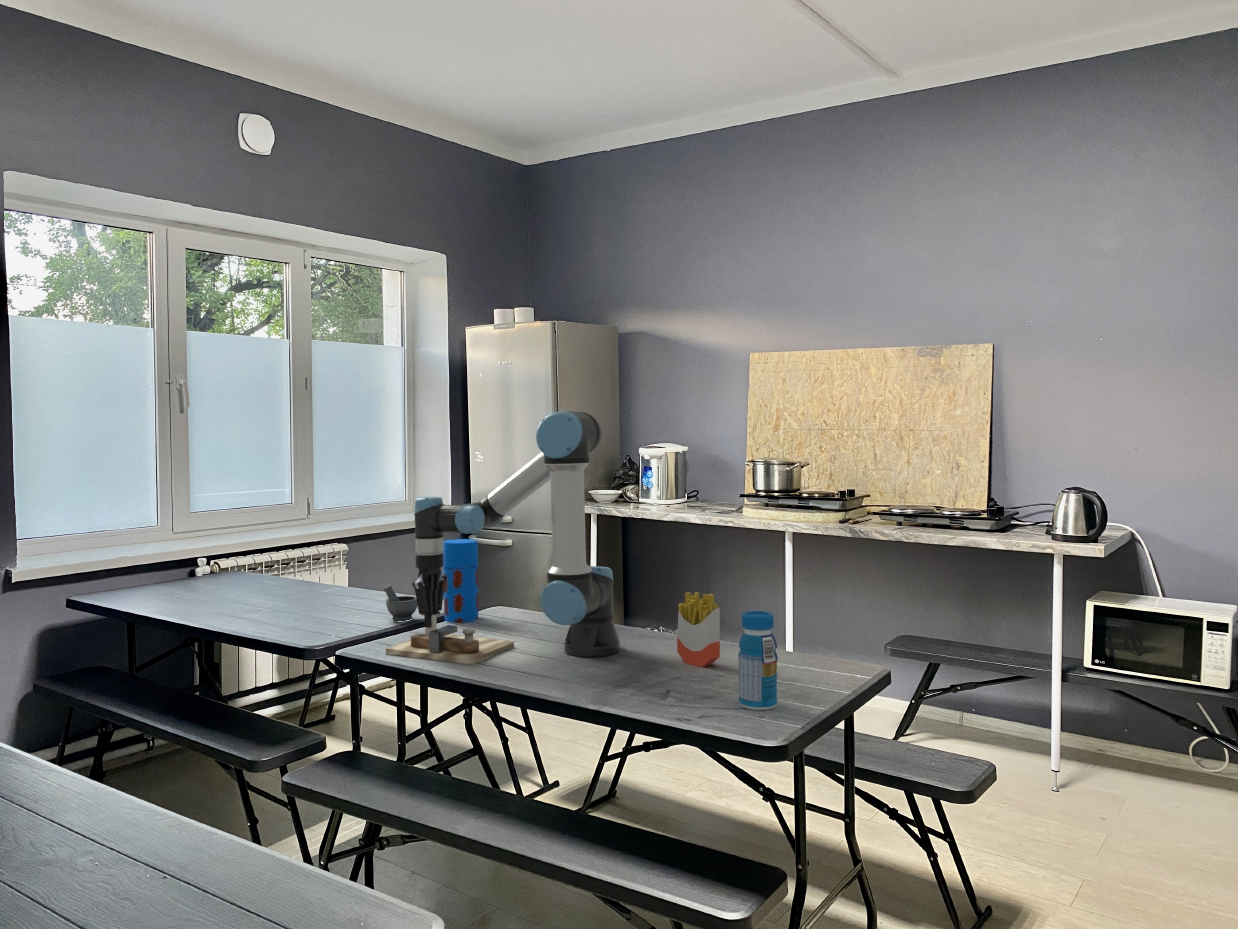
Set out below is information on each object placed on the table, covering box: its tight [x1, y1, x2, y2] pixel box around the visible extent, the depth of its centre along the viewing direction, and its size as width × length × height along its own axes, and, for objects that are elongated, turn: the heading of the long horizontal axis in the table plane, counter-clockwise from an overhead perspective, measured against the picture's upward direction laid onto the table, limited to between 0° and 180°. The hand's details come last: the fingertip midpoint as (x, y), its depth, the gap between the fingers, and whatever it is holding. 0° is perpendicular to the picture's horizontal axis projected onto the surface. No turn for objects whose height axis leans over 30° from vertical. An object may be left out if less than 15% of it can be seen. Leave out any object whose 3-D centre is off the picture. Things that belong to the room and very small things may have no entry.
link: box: [410, 627, 479, 654], centre depth 236 cm, size 22×5×6 cm, turn 63°
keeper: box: [429, 624, 458, 653], centre depth 236 cm, size 3×9×6 cm, turn 156°
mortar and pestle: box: [382, 584, 418, 622], centre depth 279 cm, size 11×9×12 cm
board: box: [385, 634, 515, 665], centre depth 240 cm, size 28×20×2 cm
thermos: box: [442, 538, 480, 624], centre depth 280 cm, size 11×11×25 cm
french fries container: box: [676, 591, 721, 668], centre depth 224 cm, size 5×11×18 cm, turn 43°
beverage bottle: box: [737, 610, 779, 711], centre depth 190 cm, size 8×8×20 cm
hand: (431, 638), depth 242 cm, fingers closed
